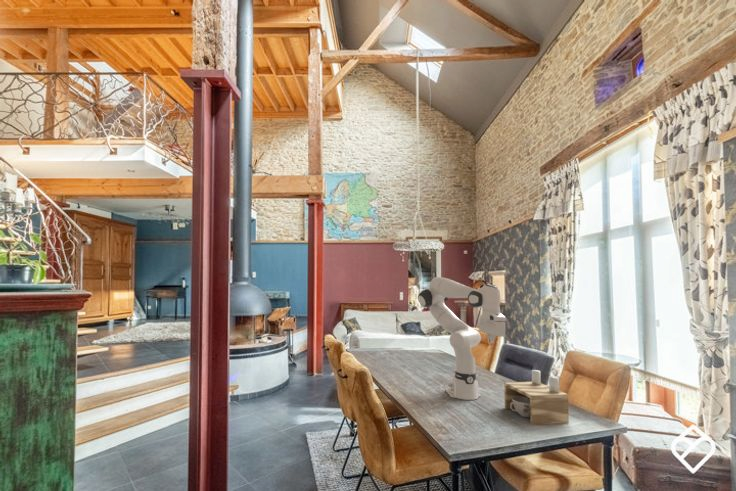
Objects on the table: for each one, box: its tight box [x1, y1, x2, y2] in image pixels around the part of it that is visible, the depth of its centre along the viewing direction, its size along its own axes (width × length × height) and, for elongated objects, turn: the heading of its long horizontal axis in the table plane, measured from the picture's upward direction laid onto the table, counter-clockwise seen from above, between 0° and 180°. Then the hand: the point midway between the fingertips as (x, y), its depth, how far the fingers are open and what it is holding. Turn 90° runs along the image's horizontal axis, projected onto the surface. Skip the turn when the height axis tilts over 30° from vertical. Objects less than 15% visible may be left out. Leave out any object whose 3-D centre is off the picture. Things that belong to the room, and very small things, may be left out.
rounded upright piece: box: [531, 369, 542, 385], centre depth 206 cm, size 4×4×7 cm
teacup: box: [510, 396, 531, 418], centre depth 196 cm, size 15×12×8 cm
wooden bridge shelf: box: [503, 381, 570, 426], centre depth 197 cm, size 24×20×14 cm
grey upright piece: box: [548, 375, 560, 393], centre depth 192 cm, size 4×4×7 cm
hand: (491, 342), depth 196 cm, fingers closed
